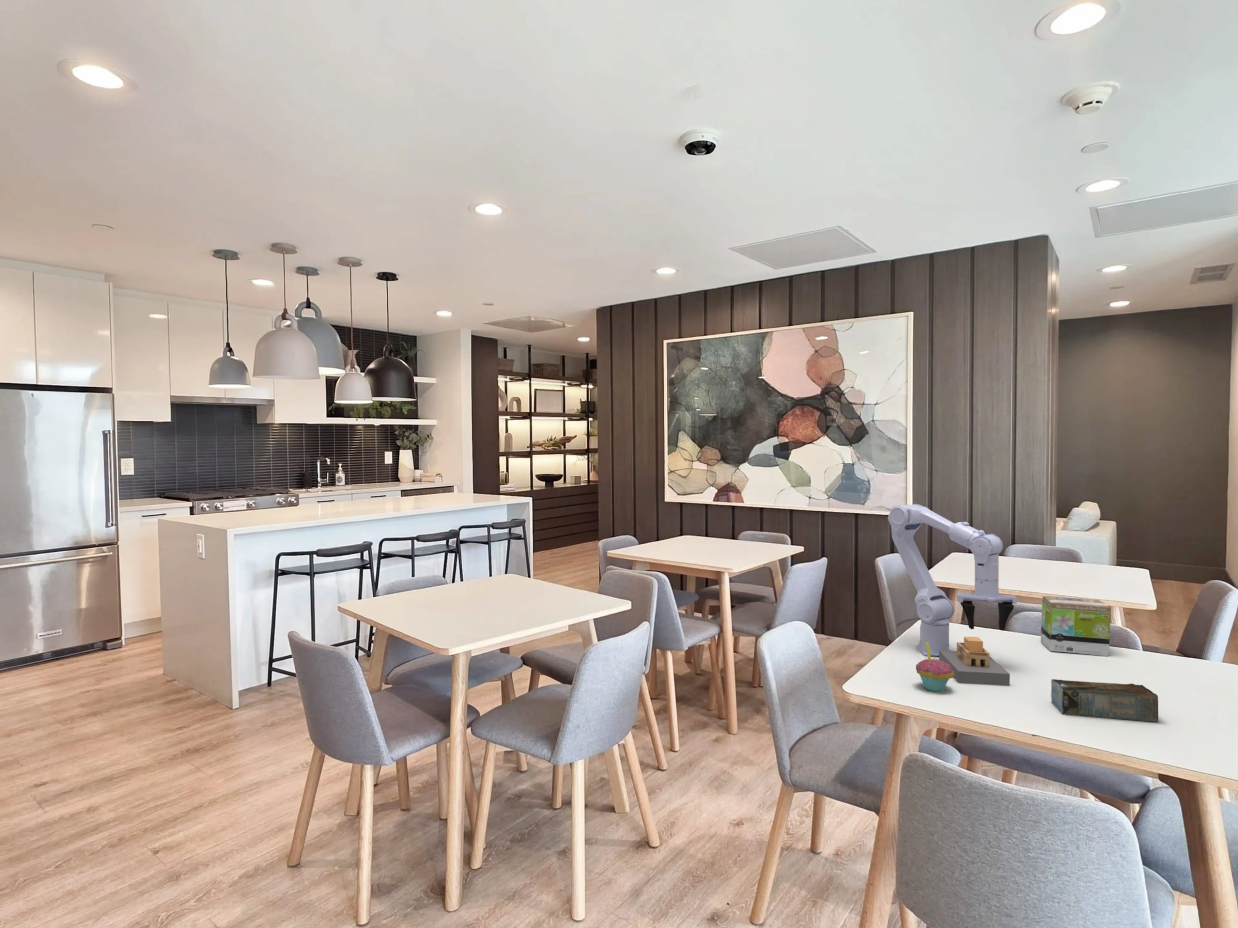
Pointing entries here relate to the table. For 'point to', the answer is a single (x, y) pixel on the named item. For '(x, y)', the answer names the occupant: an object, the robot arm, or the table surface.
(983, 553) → the robot arm
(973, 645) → the light brown block
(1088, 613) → the tea box
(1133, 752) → the table surface
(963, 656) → the pallet
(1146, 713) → the beverage carton
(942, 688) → the cupcake
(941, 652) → the dock
